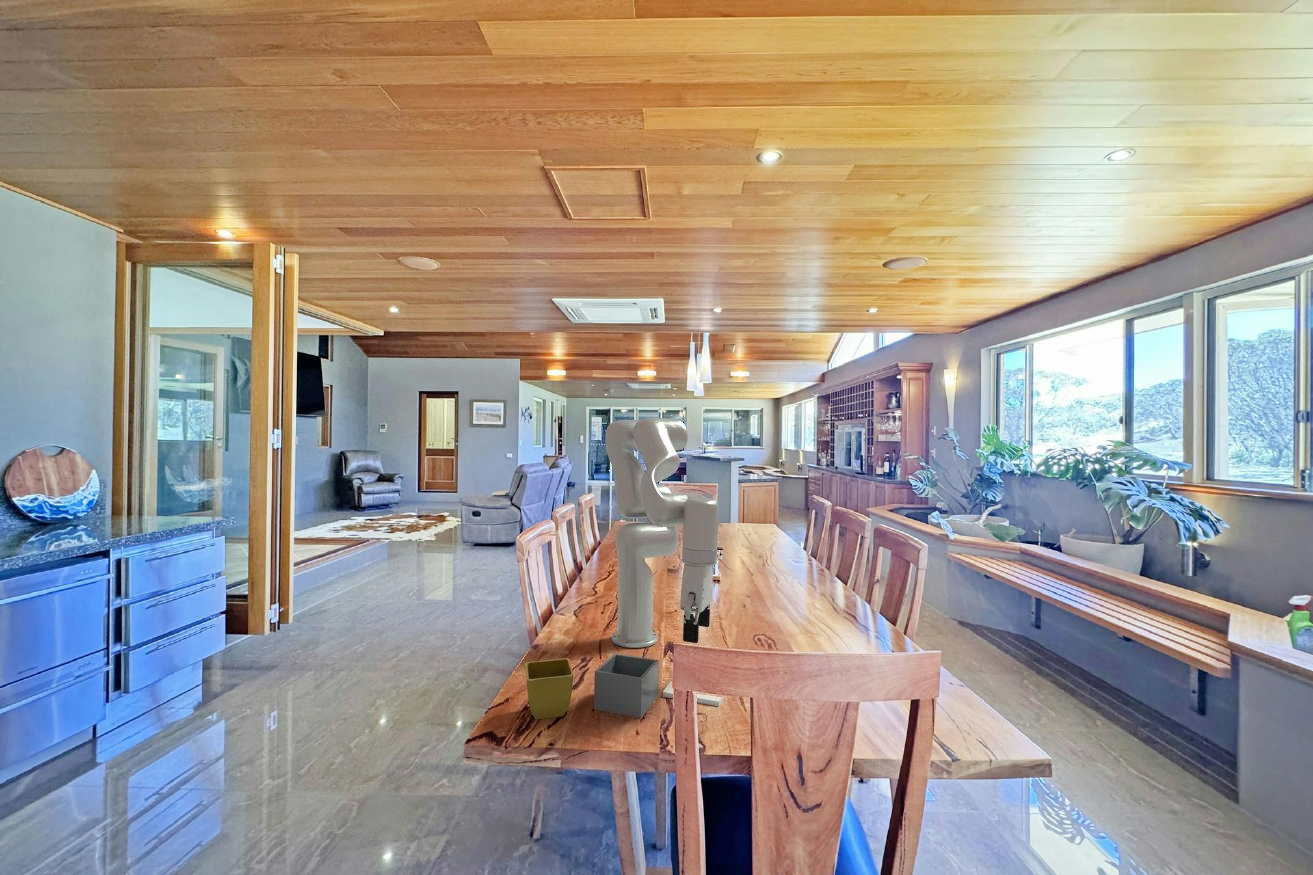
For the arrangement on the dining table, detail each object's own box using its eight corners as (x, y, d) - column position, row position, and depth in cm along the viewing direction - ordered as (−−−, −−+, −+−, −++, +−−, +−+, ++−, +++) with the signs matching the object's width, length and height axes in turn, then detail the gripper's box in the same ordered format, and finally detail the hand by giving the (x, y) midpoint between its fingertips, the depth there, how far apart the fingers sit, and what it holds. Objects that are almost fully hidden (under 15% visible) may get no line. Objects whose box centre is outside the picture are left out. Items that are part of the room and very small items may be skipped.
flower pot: (525, 728, 102) (526, 679, 102) (524, 706, 110) (524, 661, 111) (573, 722, 104) (574, 675, 105) (568, 701, 113) (568, 657, 113)
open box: (614, 690, 118) (614, 653, 118) (658, 698, 115) (658, 660, 115) (593, 711, 109) (594, 671, 109) (641, 720, 105) (641, 679, 105)
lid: (679, 677, 126) (679, 652, 126) (730, 685, 122) (731, 659, 122) (662, 700, 115) (663, 672, 115) (719, 710, 111) (719, 681, 111)
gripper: (693, 545, 128) (690, 618, 129) (670, 562, 112) (667, 645, 112) (725, 548, 126) (722, 622, 126) (706, 566, 109) (703, 651, 110)
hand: (696, 633), depth 119 cm, fingers open, 9 cm apart
